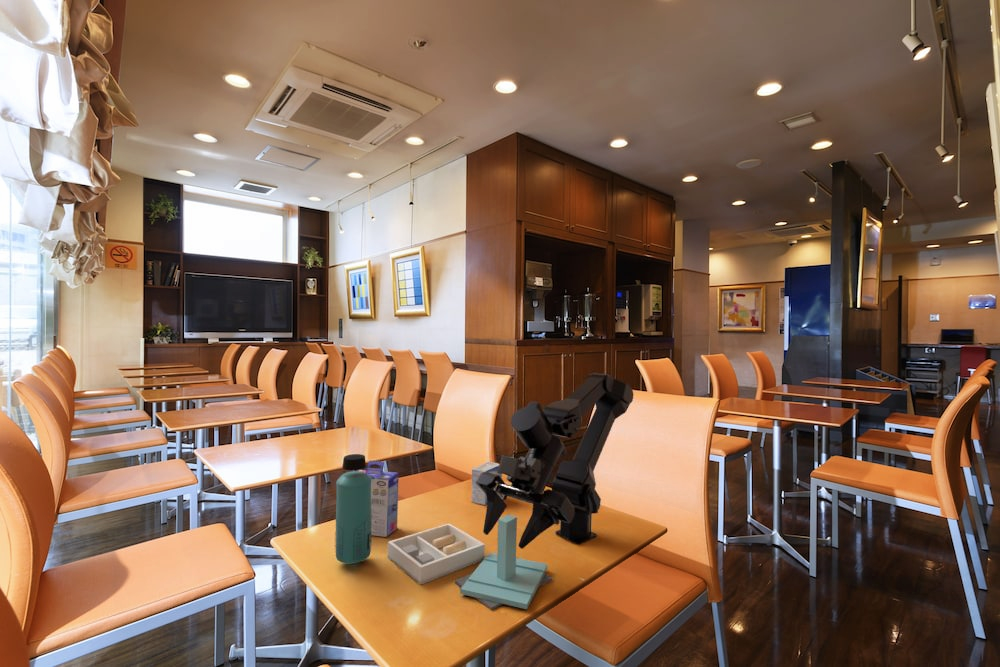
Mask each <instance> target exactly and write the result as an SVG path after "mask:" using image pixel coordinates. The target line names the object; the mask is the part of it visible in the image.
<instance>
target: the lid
mask: <svg viewBox="0 0 1000 667" xmlns="http://www.w3.org/2000/svg"><path fill="white" fill-rule="evenodd" d="M517 525H518V518H517V516H515V515H511V514H507V515H504V516H503V517H500V518H499V520H498V521H497V549H496V550H497V553H493V552H488V554H487V555H486V556H484V560H483V561H480V562H481V563H479V565H478V566H477V567H476V569H475V570H474V571H473V572H472V573H473V574H472V573H471V574H472V575H471V576H470V577H469V578H468V580H467V581H466V582H465V584H464V585H463V586H462V587H460V589H459V590H460V592H459V594H461V595H463V596H469V597H471V598H472V597H476V598H480V599H485V600H489V601H493V602H497V603H502V604H503V605H507V606H511V607H514V608H520V609H524V610H528V608H529V606H530V604H531V602H532V600H533V598H534V596H535V594H536V592H537V589H538V588H539V587H538V586H539V584H540V582H541V580H542V578H543V576H544V574H546V572H547V570H548V563H544V562H539V561H536V560H535V561H533V560H529V559H525V558H519V557H517V535H518V534H517V531H518V528H517V527H518V526H517ZM516 557H517V558H516ZM476 598H475V599H476Z"/></svg>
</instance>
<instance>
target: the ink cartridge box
mask: <svg viewBox="0 0 1000 667" xmlns="http://www.w3.org/2000/svg"><path fill="white" fill-rule="evenodd" d="M373 465H377V466H379V468H377V467H371V466H373ZM384 466H385V461H379V460H378V461H377V460H376V461H375V460H369V461H368V463H367V465H366V469H360V470H357V471H362V472H365V473H367V474H368V475H369V476H370V477H371V479H372V482H371V500H372V501H371V514H372V515H371V519H372V520H371V521H372V522H371V524H372V525H371V526H372V527H371V531H372V532H371V533H372V536H376V537H383V538H384V537H385V538H386V537H388V536H389V535H390V534H392V533H393V532H394V531H395V530H397V529H398V513H399V512H398V511H399V510H398V509H399V505H398V504H399V472H393V471H383V469H384Z"/></svg>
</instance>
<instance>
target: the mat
mask: <svg viewBox="0 0 1000 667" xmlns="http://www.w3.org/2000/svg"><path fill="white" fill-rule="evenodd" d="M516 558H518V557H517V556H516ZM472 574H473V572H472V573H470V574H466V575H464V576H462V577H460V578H457V579H455V580H454V584H456V585H457V586H459V587H460V588H461V587H462V586H463V585H464V584H465V582H466V581H467V580H468V578H469V577H470V576H471V575H472ZM552 581H554V580H553V576H550V575H549V574H547V573H545V574H544V576H543V578H542V580H541V582H540V584H539V586H538V588H539V587H542V586H543V585H546V584H547V583H550V582H552ZM474 598H475V599H476V600H477V601H478V602H480V603H481V604H482V605H484V606H485V607H487V608H488V609H489V610H491V611H492V610H495V609H497V608H499V607H500V606H502V605H504V604H502V603H497V602H493V601H489V600H485V599H480V598H476V597H474Z"/></svg>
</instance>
